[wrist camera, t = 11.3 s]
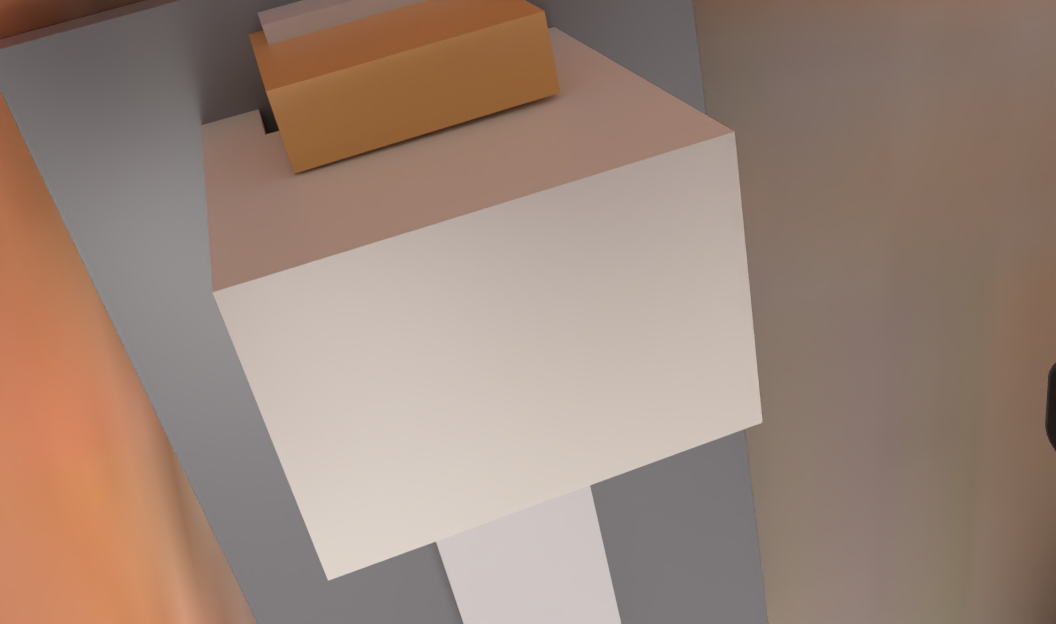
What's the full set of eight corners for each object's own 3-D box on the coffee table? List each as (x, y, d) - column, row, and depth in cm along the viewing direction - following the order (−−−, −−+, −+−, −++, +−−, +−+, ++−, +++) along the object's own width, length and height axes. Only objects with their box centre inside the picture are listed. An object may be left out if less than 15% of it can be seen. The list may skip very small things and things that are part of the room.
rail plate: (653, -136, 19) (794, -121, 14) (753, 616, 28) (853, 758, 24) (-8, 41, 17) (-73, 121, 12) (344, 783, 27) (376, 970, 22)
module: (554, 27, 18) (734, 131, 12) (593, 244, 21) (762, 422, 15) (201, 125, 17) (212, 292, 11) (282, 343, 19) (328, 581, 13)
